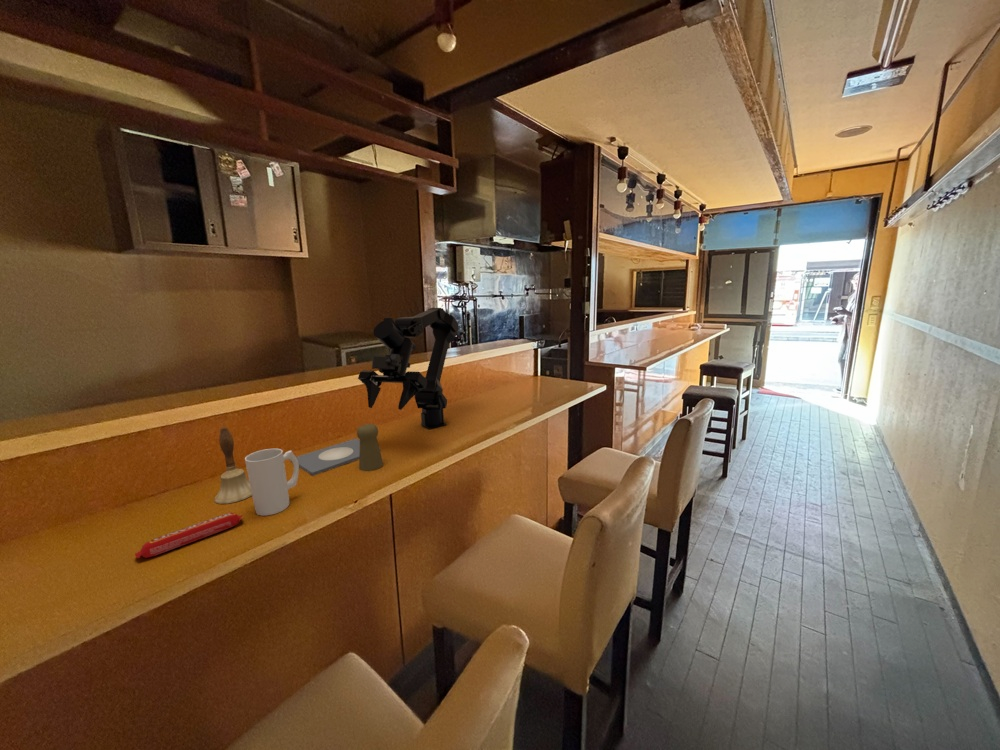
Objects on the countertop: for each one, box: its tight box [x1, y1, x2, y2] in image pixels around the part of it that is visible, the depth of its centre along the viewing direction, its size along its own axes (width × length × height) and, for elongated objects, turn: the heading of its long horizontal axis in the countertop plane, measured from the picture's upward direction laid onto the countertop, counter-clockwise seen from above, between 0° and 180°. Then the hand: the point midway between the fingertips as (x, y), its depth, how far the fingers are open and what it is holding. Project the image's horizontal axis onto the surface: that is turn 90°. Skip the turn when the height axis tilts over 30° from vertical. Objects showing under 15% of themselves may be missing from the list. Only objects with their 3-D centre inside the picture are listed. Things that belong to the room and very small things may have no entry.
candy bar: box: [134, 512, 244, 559], centre depth 74 cm, size 16×4×3 cm, turn 135°
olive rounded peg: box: [356, 423, 384, 472], centre depth 102 cm, size 6×6×11 cm
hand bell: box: [213, 426, 252, 505], centre depth 89 cm, size 8×8×16 cm
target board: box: [289, 438, 381, 476], centre depth 110 cm, size 19×14×1 cm
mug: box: [244, 447, 300, 517], centre depth 84 cm, size 10×7×12 cm, turn 147°
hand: (384, 408), depth 107 cm, fingers open, 9 cm apart
